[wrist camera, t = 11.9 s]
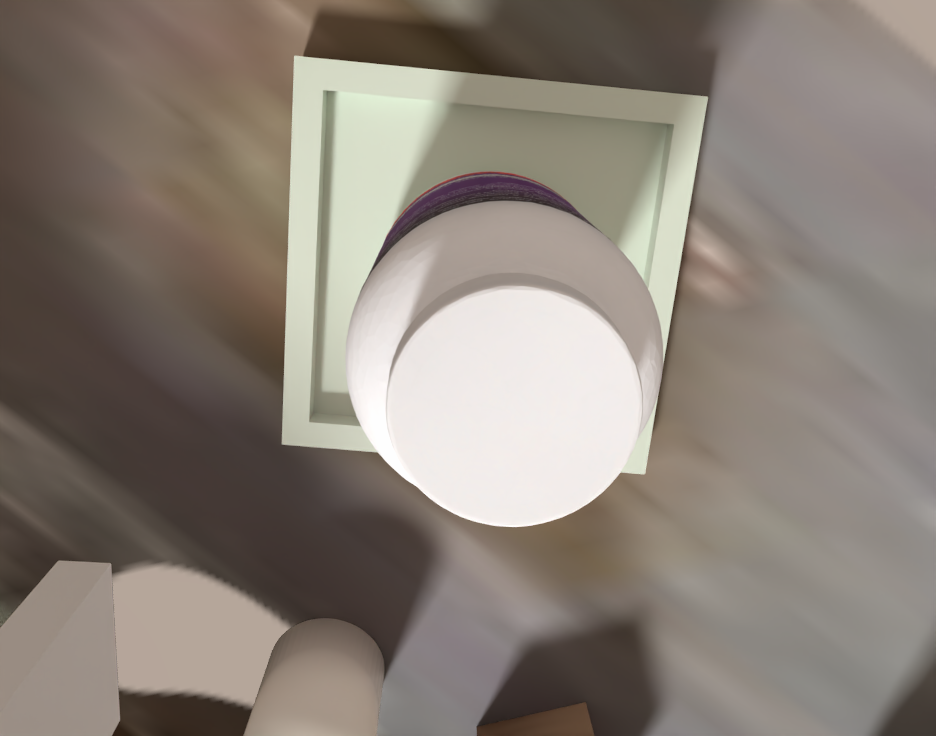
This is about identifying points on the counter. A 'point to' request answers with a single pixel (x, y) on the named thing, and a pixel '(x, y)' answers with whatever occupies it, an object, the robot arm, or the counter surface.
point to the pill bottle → (503, 351)
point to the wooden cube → (544, 724)
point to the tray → (447, 155)
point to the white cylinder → (320, 683)
